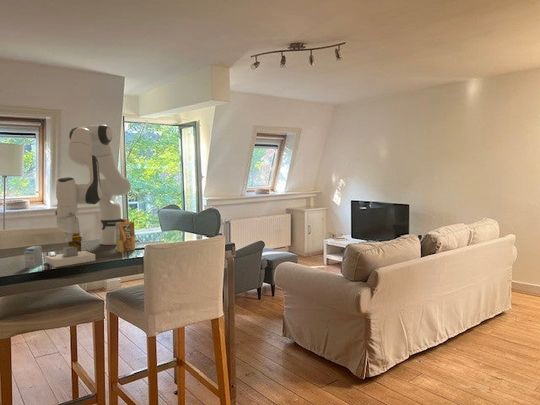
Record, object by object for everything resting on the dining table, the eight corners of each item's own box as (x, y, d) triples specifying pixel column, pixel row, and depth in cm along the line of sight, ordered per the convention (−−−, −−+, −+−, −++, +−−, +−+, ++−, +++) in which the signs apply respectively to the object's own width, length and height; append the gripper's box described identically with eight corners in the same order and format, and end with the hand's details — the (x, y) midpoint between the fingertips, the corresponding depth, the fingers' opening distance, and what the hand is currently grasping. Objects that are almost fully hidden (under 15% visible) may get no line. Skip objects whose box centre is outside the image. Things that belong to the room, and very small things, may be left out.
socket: (85, 256, 214) (84, 249, 214) (95, 260, 204) (95, 253, 204) (45, 262, 202) (45, 255, 202) (55, 267, 192) (54, 259, 192)
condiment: (83, 253, 223) (82, 230, 222) (65, 255, 219) (64, 232, 218) (80, 251, 229) (79, 229, 228) (63, 253, 225) (62, 230, 224)
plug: (74, 258, 207) (73, 246, 206) (78, 260, 203) (77, 247, 202) (63, 260, 203) (62, 247, 203) (66, 262, 200) (66, 249, 199)
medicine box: (33, 264, 199) (31, 246, 198) (43, 264, 199) (41, 245, 199) (24, 268, 191) (23, 249, 190) (35, 268, 191) (34, 248, 191)
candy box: (131, 248, 232) (129, 221, 231) (135, 249, 230) (134, 221, 229) (116, 251, 226) (114, 222, 224) (121, 252, 223) (119, 223, 222)
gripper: (82, 212, 196) (84, 242, 197) (67, 210, 211) (69, 238, 212) (67, 214, 191) (69, 244, 192) (53, 211, 206) (55, 239, 207)
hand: (69, 241), depth 202 cm, fingers closed
